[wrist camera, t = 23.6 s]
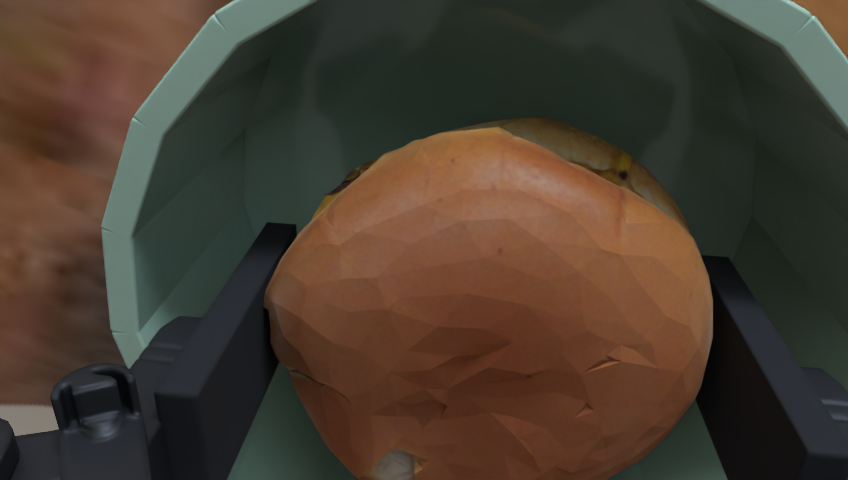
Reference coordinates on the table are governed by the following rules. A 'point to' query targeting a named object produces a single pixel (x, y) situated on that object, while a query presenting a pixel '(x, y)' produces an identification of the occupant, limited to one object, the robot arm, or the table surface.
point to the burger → (494, 309)
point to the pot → (473, 104)
